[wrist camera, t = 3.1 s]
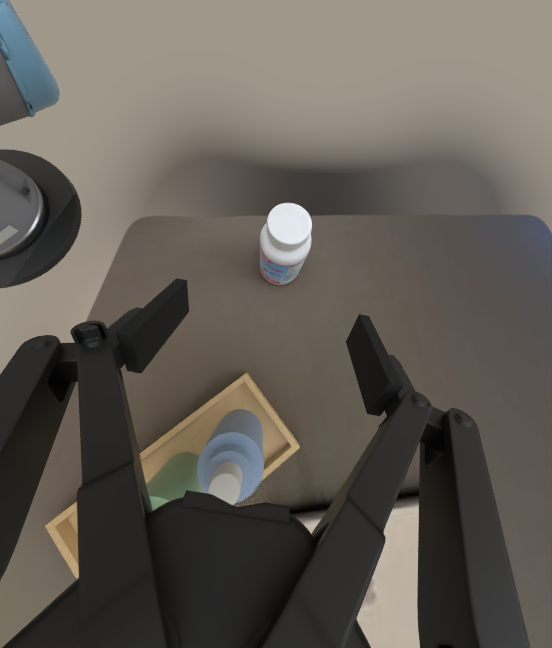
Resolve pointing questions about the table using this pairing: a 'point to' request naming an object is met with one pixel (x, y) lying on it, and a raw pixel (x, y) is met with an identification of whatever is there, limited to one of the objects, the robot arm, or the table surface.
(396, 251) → the table surface
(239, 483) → the blue-grey bottle
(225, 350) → the table surface
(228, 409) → the tray
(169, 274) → the table surface
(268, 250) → the pill bottle
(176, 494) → the green bottle
